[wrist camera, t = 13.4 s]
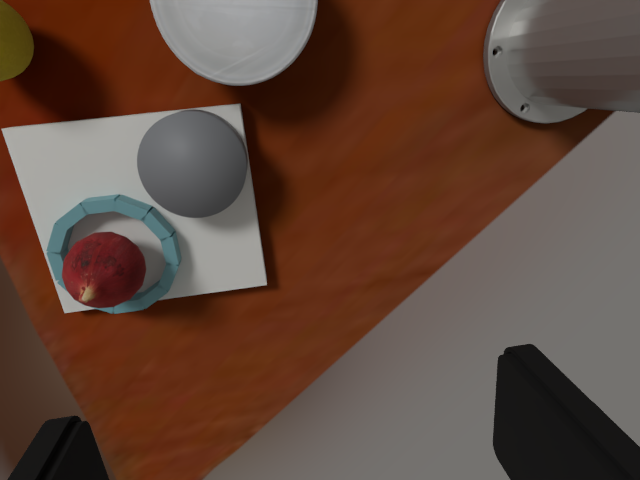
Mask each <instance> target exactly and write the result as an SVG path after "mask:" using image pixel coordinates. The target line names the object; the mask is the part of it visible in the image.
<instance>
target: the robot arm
mask: <svg viewBox="0 0 640 480" xmlns="http://www.w3.org/2000/svg"><path fill="white" fill-rule="evenodd" d="M493 49H494V50H495V54H494V55H493ZM483 60H484V71H485V75H486V79H487V82H488V86H489V88H490V90H491V92H492V94H493V95H494V97H495V99H496V100H497V101H498V102H499V104H500V105H501V106H502V107H503V108H504V109H505V110H507V111H508V112H509V113H510V114H512V115H514V116H516V117H518V118H520V119H522V120H526V121H531V122H537V123H554V122H561V121H564V120H567V119H570V118H573V117H575V116H576V115H578V114H580V113H582V112H584V111H585V110H587V109H588V108H590V109H602V110H614V111H626V112H638V113H640V0H501V1H500V3H499V5H498V6H497V8H496V9H495V11H494V14H493V16H492V18H491V21H490V23H489V26H488V29H487V33H486V37H485V42H484V54H483ZM521 106H522V108H521ZM520 108H521V110H520ZM493 446H494V450H495V454H496V456H497V458H498V460H499V462H500V463H501V465H502V467H503V468H504V470H505V471H506V473H507V475H508V476H509V478H510V479H511V480H640V447H639V446H638V445H637V444H636V443H635V442H634V441H633V440H632V439H631V438H630V437H629V436H628V435H627V434H626V433H624V432H623V431H622V430H621V429H620V428H619V427H618V426H617V425H616V424H615V423H614V422H613V421H612V420H611V419H610V418H609V417H608V416H607V415H606V414H605V413H604V412H603V411H602V410H601V409H600V408H599V407H598V406H597V405H596V404H595V403H593V402H592V401H591V400H590V399H589V398H588V397H587V396H586V395H585V394H584V393H583V392H582V391H581V390H580V389H579V388H578V387H577V386H576V385H575V384H573V382H571V381H570V380H569V379H568V378H567V377H566V376H565V375H564V374H563V373H562V372H561V371H560V370H559V369H558V368H557V367H556V366H555V365H554V364H553V363H552V362H551V361H550V360H549V359H548V358H547V357H546V356H545V355H544V354H543V353H542V352H541V351H540V350H538V349H537V348H536V347H535V346H534V345H532V344H526V345H520V346H513V347H508V348H506V349H505V351H504V354H503V355H500V356H499V357H498V366H497V382H496V399H495V415H494V433H493ZM8 480H109V478H108V475H107V472H106V469H105V467H104V464H103V461H102V458H101V455H100V453H99V450H98V447H97V444H96V441H95V438H94V436H93V433H92V430H91V427H90V425H89V423H88V422H87V421H83V422H82V421H81V419H80V418H79V417H78V416H70V417H64V418H57V419H51V420H48V421H46V422H45V423H44V424H43V425H42V427H41V428H40V430H39V431H38V433H37V434H36V436H35V438H34V439H33V441H32V442H31V444H30V445H29V447H28V448H27V450H26V452H25V453H24V455H23V457H22V458H21V459H20V461H19V463H18V464H17V466H16V467H15V469H14V471H13V472H12V473H11V475H10V477H9V478H8Z"/></svg>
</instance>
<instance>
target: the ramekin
mask: <svg viewBox="0 0 640 480" xmlns="http://www.w3.org/2000/svg"><path fill="white" fill-rule="evenodd" d="M150 3H151V8H152V11H153V15H154V18H155V21H156V23H157V26H158V28H159V30H160V32H161V34H162V36H163V38H164V40H165V41H166V43H167V45H168V46H169V47H170V49H171V50H172V51H173V53H174V54H175V55H176V56H177V57H178V58H179V59H180V60H181V61H182V62H183V63H184V64H185V65H186V66H187V67H189V68H190V69H191V70H193V71H194V72H195V73H196V74H198V75H200V76H202V77H204V78H207V79H209V80H211V81H214V82H217V83H221V84H226V85H233V86H244V85H252V84H257V83H261V82H264V81H266V80H269V79H271V78H273V77H275V76H276V75H278V74H280V73H281V72H282V71H284V70H285V69H286V68H288V67H289V66H290V65H291V64H292V63H293V62H294V61H295V60H296V58H297V57H298V56H299V55H300V53H301V52H302V50H303V49H304V47H305V45H306V44H307V42H308V40H309V38H310V35H311V33H312V30H313V26H314V23H315V19H316V14H317V5H318V0H150Z"/></svg>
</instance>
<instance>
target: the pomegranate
mask: <svg viewBox="0 0 640 480" xmlns="http://www.w3.org/2000/svg"><path fill="white" fill-rule="evenodd" d="M145 274H146V264H145V257H144V256H143V254H142V252H141V251H140V249H139V247H138V246H137V245H136V244H134V243H133V242H132V241H131V240H130V239H128V238H127V237H125V236H122V235H119V234H116V233H114V232H95V233H93V234H91V235H89V236H87V237H85V238H83V239H81V240H79V241H77V242H76V243H75V244H74V245H73V246H72V248H71V249H70V251H69V252H68V254H67V255H66V257H65V259H64V262H63V269H62V279H63V282H64V285H65V287H66V290H67V291H68V292H69V294H70V295H71V296H72V297H73V299H74V300H76V301H78V302H80V303H81V304H83V305H85V306H90V307H95V308H108V307H115V306H117V305H119V304H121V303H123V302H125V301H128V300H130V299H131V298H132V297H133V296H134V295H135V293H136V292H137V291H138V290H139V289H140V288H141V287H142V285H143V282H144V278H145Z"/></svg>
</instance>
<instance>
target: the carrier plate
mask: <svg viewBox="0 0 640 480" xmlns="http://www.w3.org/2000/svg"><path fill="white" fill-rule="evenodd" d="M2 132H3V135H4V138H5V141H6V144H7V147H8V150H9V152H10V155H11V158H12V161H13V164H14V167H15V170H16V173H17V176H18V179H19V182H20V185H21V187H22V190H23V193H24V196H25V199H26V202H27V205H28V208H29V211H30V214H31V217H32V220H33V223H34V225H35V228H36V231H37V234H38V237H39V240H40V243H41V246H42V249H43V252H44V255H45V258H46V261H47V263H48V266H49V269H50V272H51V275H52V278H53V281H54V284H55V287H56V290H57V293H58V296H59V298H60V301H61V304H62V307H63V310H64V313H69V312H76V311H84V310H91V309H98V310H102V311H105V312H108V313H111V314H112V313H113V312H114V314H117V313H124V312H131V311H138V310H144V308H145V309H146V308H148V307H149V306H150V305H152V304H153V303H154V302H156V301H157V300H163V299H170V298H177V297H185V296H192V295H199V294H206V293H214V292H221V291H228V290H235V289H242V288H250V287H257V286H264V285H267V276H266V269H265V263H264V256H263V249H262V243H261V236H260V229H259V223H258V216H257V210H256V203H255V196H254V190H253V183H252V176H251V170H250V163H249V156H248V150H247V143H246V137H245V130H244V123H243V117H242V110H241V103H240V104H231V105H221V106H211V107H202V108H192V109H182V110H173V111H163V112H153V113H144V114H134V115H124V116H115V117H105V118H95V119H86V120H76V121H66V122H57V123H47V124H37V125H28V126H18V127H10V128H4V129H2ZM95 232H114V233H116V234H119V235H122V236H125V237H127V238H128V239H130V240H131V241H132V242H133V243H134V244H136V245H137V246H138V247H139V249H140V251H141V252H142V254H143V256H144V257H145V264H146V274H145V278H144V282H143V285H142V287H141V288H140V289H139V290H138V291H137V292H136V293H135V295H134V296H133V297H132V298H131V299H130V300H128V301H125V302H123V303H121V304H119V305H117V306H115V307H108V308H95V307H90V306H85V305H83V304H81V303H80V302H78V301H76V300H74V299H73V297H72V296H71V295H70V294H69V292H68V291H67V290H66V287H65V285H64V282H63V279H62V269H63V262H64V259H65V257H66V255H67V254H68V252H69V251H70V249H71V248H72V246H73V245H74V244H75V243H76V242H77V241H79V240H81V239H83V238H85V237H87V236H89V235H91V234H93V233H95Z"/></svg>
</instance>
